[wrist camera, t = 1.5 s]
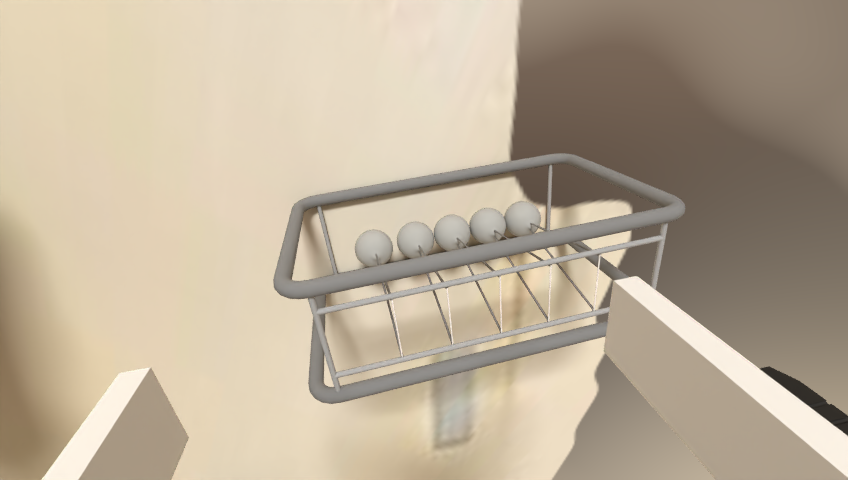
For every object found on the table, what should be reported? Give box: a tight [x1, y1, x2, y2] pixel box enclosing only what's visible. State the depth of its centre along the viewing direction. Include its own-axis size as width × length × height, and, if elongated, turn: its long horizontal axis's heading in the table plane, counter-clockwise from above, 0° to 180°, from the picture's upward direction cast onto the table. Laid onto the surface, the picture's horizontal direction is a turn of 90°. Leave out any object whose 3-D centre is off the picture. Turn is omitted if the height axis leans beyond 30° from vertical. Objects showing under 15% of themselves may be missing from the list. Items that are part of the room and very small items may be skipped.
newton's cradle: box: [273, 153, 685, 404], centre depth 35 cm, size 30×10×18 cm, turn 97°
